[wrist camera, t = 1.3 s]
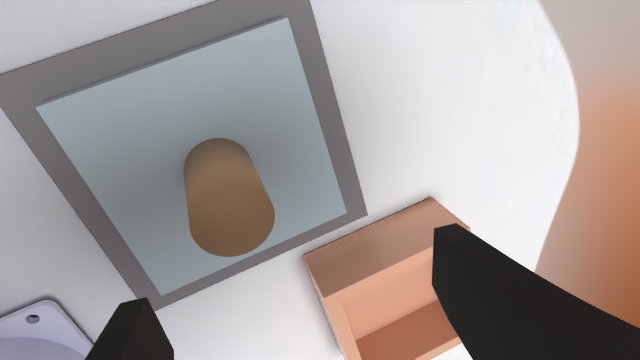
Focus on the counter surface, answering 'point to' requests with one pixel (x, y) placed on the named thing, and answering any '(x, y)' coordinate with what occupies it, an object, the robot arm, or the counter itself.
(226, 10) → the mat
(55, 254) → the counter surface
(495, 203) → the counter surface
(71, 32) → the counter surface
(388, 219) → the tray
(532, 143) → the counter surface
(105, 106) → the lid
